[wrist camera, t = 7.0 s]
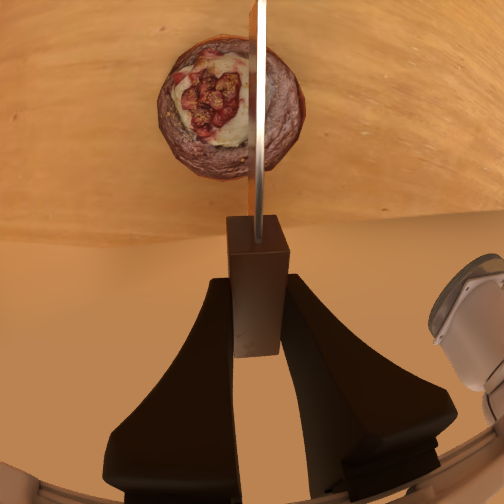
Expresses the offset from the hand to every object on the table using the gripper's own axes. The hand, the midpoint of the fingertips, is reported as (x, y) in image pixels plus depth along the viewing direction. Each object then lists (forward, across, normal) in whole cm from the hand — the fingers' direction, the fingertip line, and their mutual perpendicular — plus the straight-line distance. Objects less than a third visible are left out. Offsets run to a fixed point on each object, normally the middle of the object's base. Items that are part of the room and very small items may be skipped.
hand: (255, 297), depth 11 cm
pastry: (+8, 0, -6) cm, 10 cm away
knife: (+1, 0, -4) cm, 4 cm away
